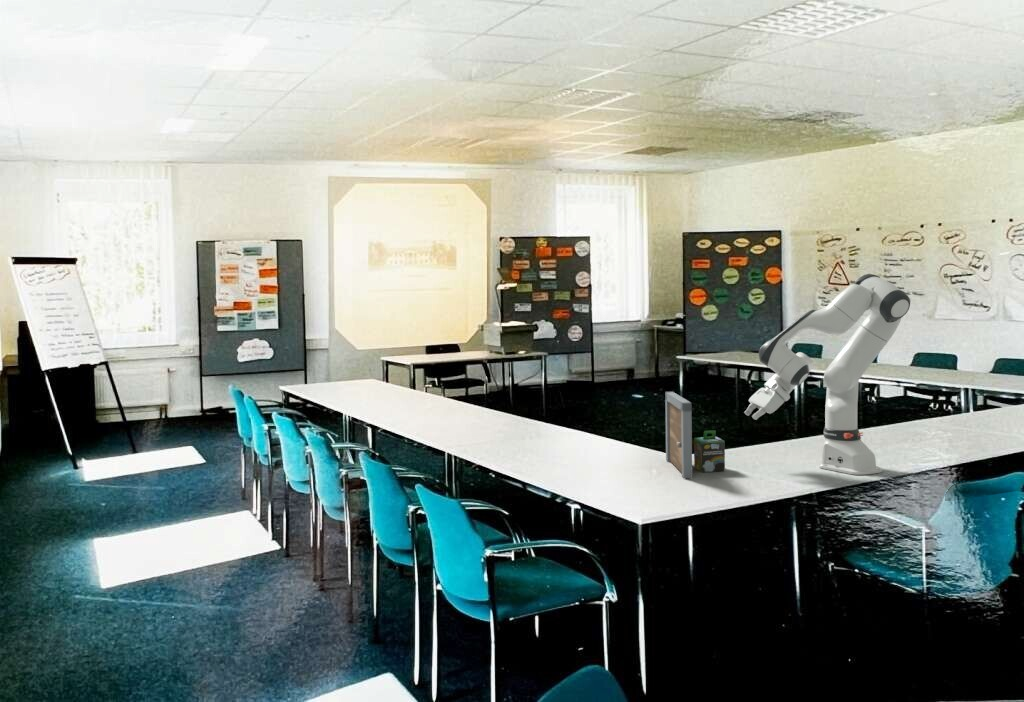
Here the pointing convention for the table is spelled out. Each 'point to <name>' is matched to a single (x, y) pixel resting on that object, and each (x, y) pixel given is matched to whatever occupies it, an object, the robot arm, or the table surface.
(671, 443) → the door
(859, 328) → the robot arm
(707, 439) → the chalk box
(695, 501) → the table surface
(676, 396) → the door frame
